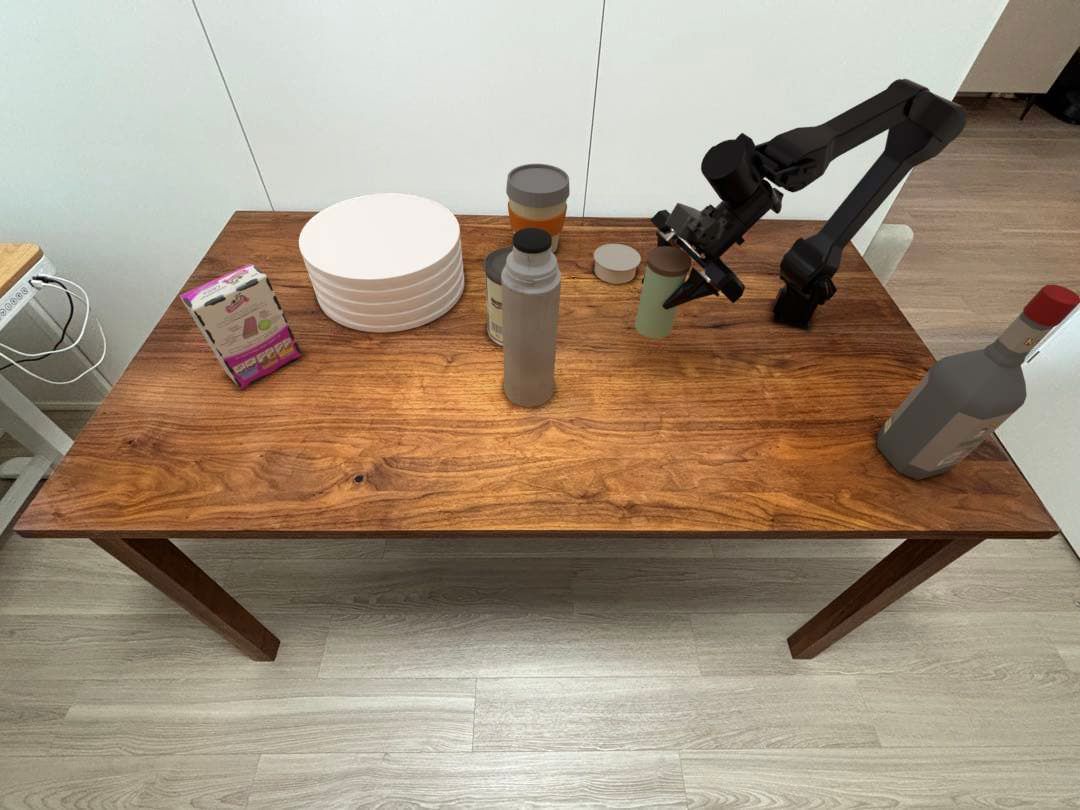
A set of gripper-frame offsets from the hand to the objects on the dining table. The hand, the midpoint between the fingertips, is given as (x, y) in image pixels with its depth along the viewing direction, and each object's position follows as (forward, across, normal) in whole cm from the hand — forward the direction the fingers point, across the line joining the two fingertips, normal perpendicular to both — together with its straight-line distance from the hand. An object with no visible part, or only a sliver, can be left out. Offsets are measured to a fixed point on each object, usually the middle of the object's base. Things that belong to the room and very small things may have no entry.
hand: (653, 295), depth 83 cm
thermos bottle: (+24, 0, -5) cm, 25 cm away
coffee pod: (+4, -24, +16) cm, 29 cm away
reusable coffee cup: (+12, -38, +7) cm, 41 cm away
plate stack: (+34, -35, -15) cm, 52 cm away
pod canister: (+4, 0, +6) cm, 7 cm away
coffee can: (+22, -15, -2) cm, 27 cm away
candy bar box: (+52, -21, -33) cm, 65 cm away
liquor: (-10, +33, +30) cm, 46 cm away
